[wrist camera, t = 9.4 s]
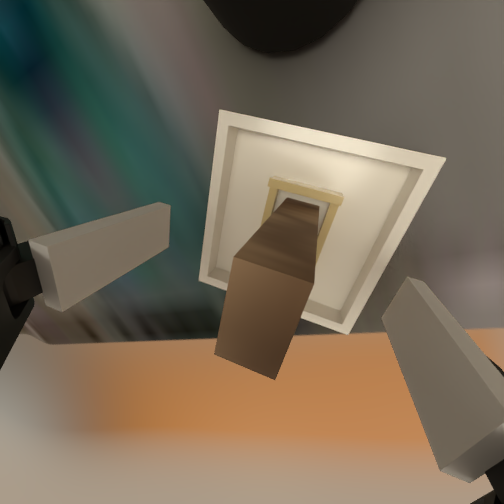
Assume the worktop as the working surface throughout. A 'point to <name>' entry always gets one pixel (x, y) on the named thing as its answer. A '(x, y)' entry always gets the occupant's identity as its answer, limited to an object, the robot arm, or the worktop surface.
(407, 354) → the robot arm
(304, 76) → the worktop surface
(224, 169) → the candle dish
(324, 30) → the coffee jar
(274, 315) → the wooden wedge
